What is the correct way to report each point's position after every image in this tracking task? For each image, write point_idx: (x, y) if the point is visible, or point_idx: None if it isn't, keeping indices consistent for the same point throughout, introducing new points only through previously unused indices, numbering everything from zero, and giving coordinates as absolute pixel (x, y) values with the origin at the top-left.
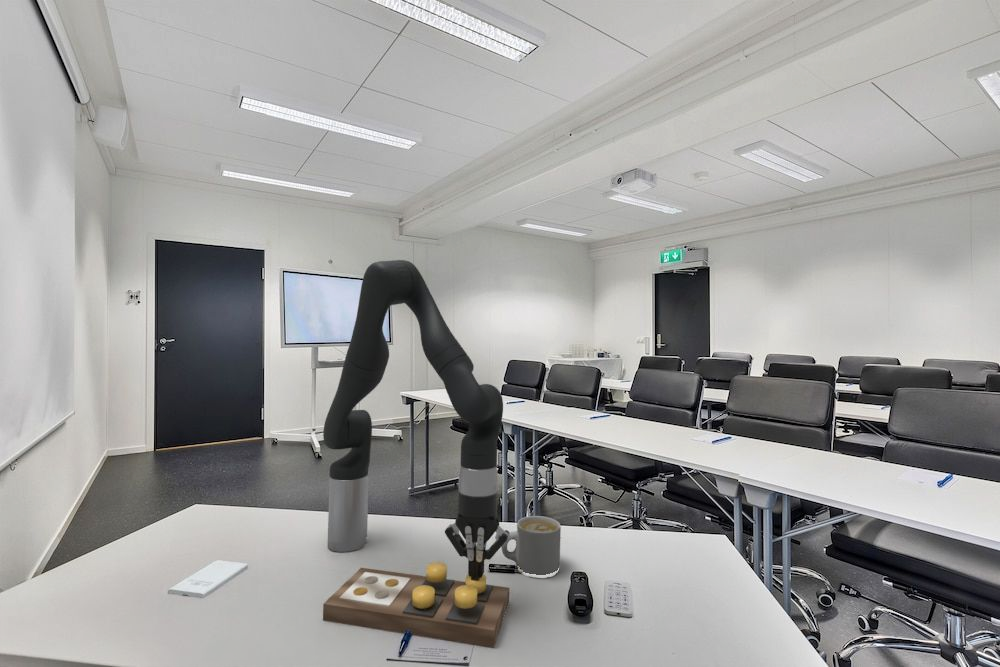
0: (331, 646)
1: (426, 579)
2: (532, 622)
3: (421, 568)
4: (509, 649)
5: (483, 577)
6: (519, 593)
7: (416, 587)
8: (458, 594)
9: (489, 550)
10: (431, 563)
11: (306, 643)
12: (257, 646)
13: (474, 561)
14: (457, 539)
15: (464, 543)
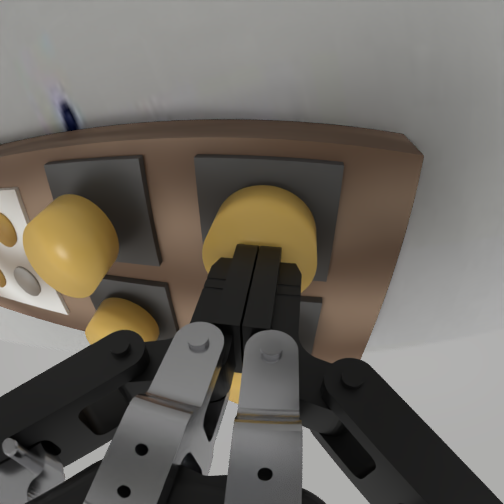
0: (66, 334)
1: (51, 186)
2: (467, 236)
3: (9, 15)
4: (389, 331)
5: (299, 253)
6: (440, 59)
7: (86, 332)
8: (235, 400)
9: (336, 462)
10: (25, 236)
11: (39, 327)
12: (12, 329)
13: (238, 370)
14: (80, 446)
15: (107, 393)
